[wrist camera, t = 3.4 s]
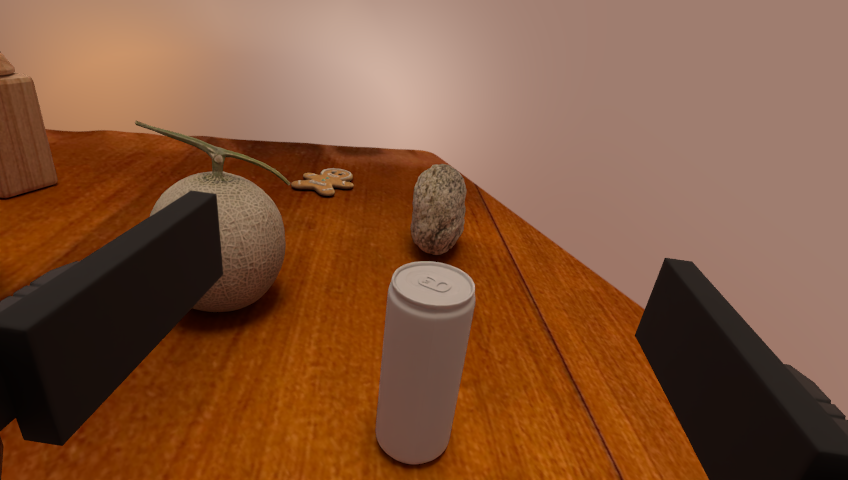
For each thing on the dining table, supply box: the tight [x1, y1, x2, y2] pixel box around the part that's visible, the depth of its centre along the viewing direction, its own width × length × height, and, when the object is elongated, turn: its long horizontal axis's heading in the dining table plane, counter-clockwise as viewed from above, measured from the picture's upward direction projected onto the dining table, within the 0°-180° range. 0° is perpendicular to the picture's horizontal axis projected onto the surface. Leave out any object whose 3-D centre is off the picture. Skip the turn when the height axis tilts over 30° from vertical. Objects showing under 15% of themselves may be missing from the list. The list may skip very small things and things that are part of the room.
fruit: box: [135, 121, 290, 312], centre depth 39 cm, size 10×12×15 cm
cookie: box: [291, 168, 353, 196], centre depth 70 cm, size 8×1×10 cm
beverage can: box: [376, 261, 475, 464], centre depth 28 cm, size 5×5×12 cm
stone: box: [411, 164, 466, 255], centre depth 54 cm, size 6×10×10 cm, turn 165°
